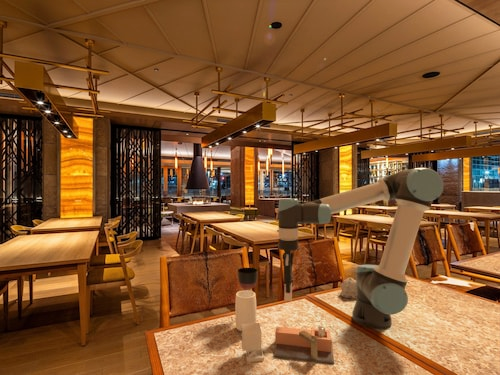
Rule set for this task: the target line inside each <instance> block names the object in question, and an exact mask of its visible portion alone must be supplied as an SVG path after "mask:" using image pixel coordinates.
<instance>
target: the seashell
mask: <svg viewBox="0 0 500 375" xmlns="http://www.w3.org/2000/svg"><path fill="white" fill-rule="evenodd" d="M340 286H341V292H340V293H339V294H340V297H342V298H346V299H350V300H351V299H354V300H357V291H356V279H354V278H352V277H351V276H350V277H348V278H346V279H344V280H343V282H341V283H340Z"/></svg>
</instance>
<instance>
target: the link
mask: <svg viewBox="0 0 500 375" xmlns="http://www.w3.org/2000/svg"><path fill="white" fill-rule="evenodd" d="M303 330H304V331H306V332H307V333H309V334H311V335H313V336H317V338H318V342H317V350H318V351H326V352H331V340H332V335H331V330H330V329H325V338H324V337H318V328H311V329H305V328H297V327H296V328H295V327H283V326H276V328H275V332H274V333H275V335H274V337H275V338H274V339H275V341H274V342H275V343H274V344H285V345H294V346H302V347H311V342H310V341H308V340H306V339H304V338H303V337H301V336H299V332H301V331H303Z"/></svg>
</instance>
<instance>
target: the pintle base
mask: <svg viewBox="0 0 500 375" xmlns="http://www.w3.org/2000/svg"><path fill="white" fill-rule="evenodd" d="M317 329H318V337H324V338H325V330H326V328H325V327H324V326H318V328H317ZM299 336H301V337H303V338H304V339H306V340H308V341H310V342H311V347H302V346H294V345H285V344H277V343H275V344H276V345H275V350H274V353H273V357H274V358H276V359H277V358H278V359H287V360H297V361H304V362H310V363H311V362H312V363H320V364H321V363H322V364H328V363H329V365H334V364H335V359H334V357H335V356H334V351H333V344H332V343H333V340H332V339H331V352H326V351H318V350H317V342H318V338H317V336H313V335H311V334H309V333H307V332H306V331H304V330H303V331H301V332H299Z"/></svg>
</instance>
